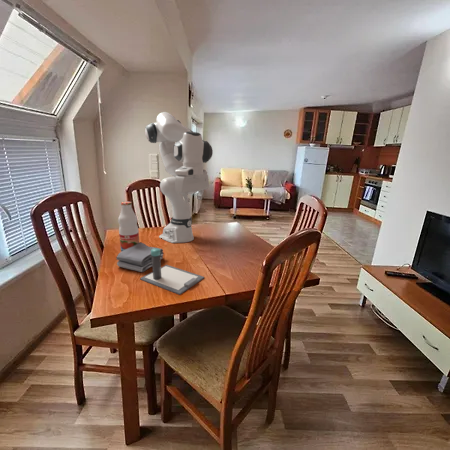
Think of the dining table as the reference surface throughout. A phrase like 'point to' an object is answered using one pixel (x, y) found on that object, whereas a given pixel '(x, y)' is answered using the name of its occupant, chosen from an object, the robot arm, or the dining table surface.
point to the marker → (156, 263)
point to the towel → (137, 257)
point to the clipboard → (173, 279)
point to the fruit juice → (128, 227)
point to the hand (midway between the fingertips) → (193, 200)
